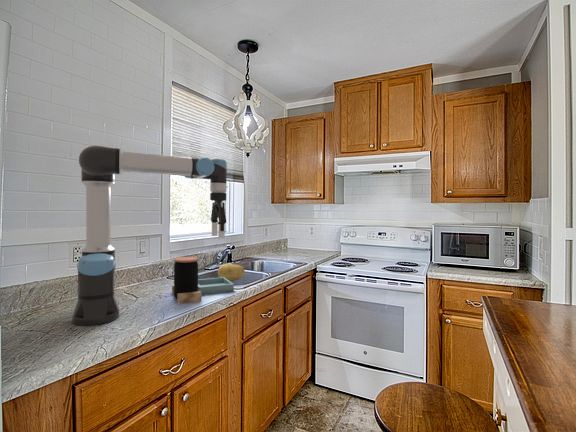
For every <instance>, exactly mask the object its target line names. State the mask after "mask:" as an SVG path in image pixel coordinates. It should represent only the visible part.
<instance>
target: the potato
mask: <svg viewBox="0 0 576 432" xmlns="http://www.w3.org/2000/svg"><path fill="white" fill-rule="evenodd" d="M217 274H218V278H221V277H225V278H226V279H227V280H229V281H230V282H234V281H237V280H240V279H242V277H243V276H244V274H245V268H244V267H243V266H242V265H239V264H232V263H226V264H221V265H220V266H219V267H218V269H217Z"/></svg>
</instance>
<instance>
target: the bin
mask: <svg viewBox="0 0 576 432" xmlns="http://www.w3.org/2000/svg"><path fill="white" fill-rule="evenodd" d="M234 289H235V283H233V281H229V280H227V279H226V278H225V277H221V278H220V277H213V278H212V277H211V278H202V279H200V278H198V291H201V295H208V294H209V295H210V294H219V293H228V292H227V291H229V292H234V291H233V290H234Z"/></svg>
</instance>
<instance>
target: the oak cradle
mask: <svg viewBox="0 0 576 432" xmlns="http://www.w3.org/2000/svg"><path fill="white" fill-rule="evenodd" d="M171 294H172V295H174V284H172V285H171ZM176 301H177V305H180V304H188V303H190V304H191V303H197V302H202V294H201V291H198V292H188V293H178V294H177V299H176Z"/></svg>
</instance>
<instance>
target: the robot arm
mask: <svg viewBox="0 0 576 432" xmlns="http://www.w3.org/2000/svg"><path fill="white" fill-rule="evenodd" d="M78 164H79V167H80V169H81V173H80V175H81V183H82V184H83V185H84V186H85V209H86V210H85V217H86V218H85V219H86V220H85V226H86V227H85V229H86V231H85V236H86V238H85V241H86V243H85V244H86V245H85V247H84V248H82V250H81V257H80V258H78V261H77V266H76V269H77V302H76V305H75V307H74V310H73V313H72V315H71V323H72V324H74V325H76V326H84V327H85V326H96V325H102V324H106V323H110V322H113V321H114V320H116V319H119V317H120V308H119V306H118V302H117V300H116V297H115V271H116V267H117V266H116V265H117V264H116V248H115V247H113V246H112V242H111V238H112V237H111V235H112V233H111V231H112V230H111V229H112V227H111V224H112V223H111V220H112V219H111V215H112V214H111V211H112V209H111V206H112V205H111V204H112V203H111V199H112V198H111V196H112V195H111V189H112V186H114V184H115V183H116V182H115V180H116V179H115V176H116V175H122V173H134V174H135V173H141V174H158V175H173V176H174V175H175V176H176V175H177V176H184V178H186V179H191V180H193V179H197V180H210V183H209V184H210V185H209V191H210V195H209V200H210V201H213V202H211V203H212V204H211V216H210V222H211V237H217V236H218V237H217V238H218V239H226V238H225V236H226V235H225V234H226V233H225V231H226V228H225V227H226V224H227V216H226V209H225V201H227V188H228V187H229V186H228V185H227V178H228V177H227V176H228V174H227V172H228V169H227V168H228V166H227V165H228V163H227V161H226V159H220V158H213V159H210V158H208V157H199V158H198V157H188V156H187V157H186V156H177V155H176V156H175V155H167V154H165V155H163V154H155V153H153V154H151V153H141V152H131V151H130V152H129V151H123V150H122V149H121V148H115V147H114V148H113V147H107V146H102V145H91V146H87V147H86V148H84V149H83V150H81V152H80V154H79V156H78Z"/></svg>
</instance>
